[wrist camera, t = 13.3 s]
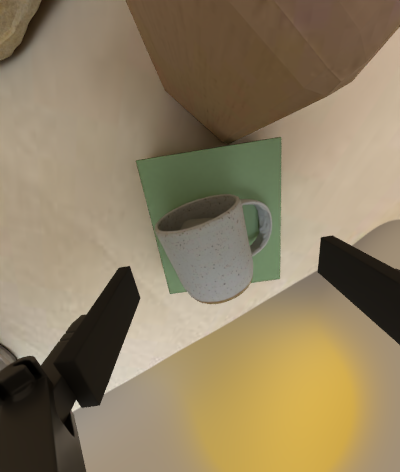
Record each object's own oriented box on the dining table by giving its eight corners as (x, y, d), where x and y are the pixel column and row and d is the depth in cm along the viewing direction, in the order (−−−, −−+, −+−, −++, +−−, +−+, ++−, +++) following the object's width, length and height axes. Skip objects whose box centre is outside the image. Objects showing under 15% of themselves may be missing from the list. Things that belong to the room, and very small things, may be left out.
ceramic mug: (188, 273, 23) (186, 324, 16) (160, 212, 20) (143, 240, 13) (273, 245, 22) (312, 286, 15) (257, 176, 19) (297, 185, 12)
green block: (174, 269, 30) (169, 294, 24) (149, 160, 24) (135, 160, 18) (264, 256, 29) (280, 279, 24) (261, 142, 23) (281, 136, 18)
